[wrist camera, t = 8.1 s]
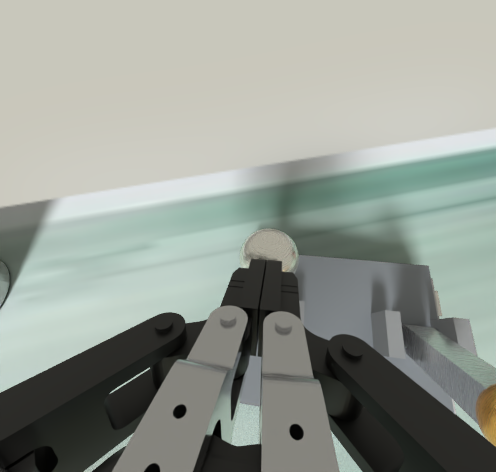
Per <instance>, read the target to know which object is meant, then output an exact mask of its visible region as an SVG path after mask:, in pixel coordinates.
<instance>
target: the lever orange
mask: <svg viewBox="0 0 496 472" xmlns="http://www.w3.org/2000/svg"><path fill="white" fill-rule="evenodd" d="M401 324H402V332H403V341H404V349H405V353H406V354H407V355H408V356H409V357H410V358H411V359H412V360H413V361H414V362H415V363H416V364H417V365H418V366H419V367H420V368H421V369H423V370H424V371H425V372H426V373H427V374H428V375H429V376H430V377H431V378H432V379H433V380H434V381H435V382H436V383H437V384H438V385H439V386H440V387H441V388H442V389H443V390H444V391H445V392H446V393H447V394H448V395H449V396H450V397H451V398H452V399H453V400H454V401H455V402H456V403H457V404H458V405H459V406H460V407H461V408H462V409H463V410H464V411H465V412H466V413H467V414H468V415H469V416H470V417H471V418H472V419H473V420H474V421H475V422H476V423H477V424H478V425H479V427H480V429H481V431H482V433H483V434H484V436H485V438H486V439H487V440H488V441H489V442H490V443H492V444H493V445H494V446H495V447H496V368H494V367H493V366H491V365H490V364H488V363H487V362H485V361H484V360H482V359H480V358H479V357H477V356H476V355H474V354H473V353H471V352H470V351H468V350H467V349H465V348H463V347H462V346H460V345H459V344H457V343H456V342H454V341H453V340H451V339H449V338H448V337H446V336H445V335H443V334H442V333H440V332H439V331H438V330H437V329H436V328H435V327H428V326H420V325H411V324H403V323H401Z"/></svg>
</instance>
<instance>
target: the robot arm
mask: <svg viewBox="0 0 496 472" xmlns="http://www.w3.org/2000/svg"><path fill="white" fill-rule="evenodd" d="M8 287H9V272H8V268H7V267H6V265H5V264H4V263H3V262H2V261H1V260H0V306H1V304H2V303H3V301H4V299H5V297H6V294H7V292H8ZM257 345H258V357H262V358H261V377H260V414H259V444H255V445H247V446H234V445H231V442H232V434H233V428H234V424H235V420H236V416H237V412H238V408H239V404H240V400H241V395H242V391H243V387H244V383H245V379H246V375H247V368H248V365H249V359H250V356H256V352H257ZM149 367H150V369H149V370H148V371H146V372H144V373H143V374H141V375H140V376H138V377H137V378H135V379H133V380H132V381H130V382H129V383H127V384H125V385H124V386H122V387H121V388H119V389H118V390H116V391H114V392H113V393H111V394H109V393H110V392H111V391H113V390H114V389H115V388H117V387H119V386H120V385H122V384H123V383H125V382H127V381H128V380H130V379H131V378H133V377H135V376H136V375H138V374H139V373H141V372H143V371H144V370H146V369H147V368H149ZM331 431H332V432H333V434H334V435H335V436H336V438H337V439H338V440H339V442H340V443H341V444H342V445H343V447H344V448H345V449H346V451H347V452H348V453H349V455H350V456H351V457H352V459H353V460H354V461H355V462H356V464H357V465H358V466H359V468H360V469H361V470H362V472H496V447H495V446H494V445H493V444H492V443H490V442H489V441H488V440H487V439H485V438H484V437H483V436H482V435H480V434H479V433H478V432H477V431H475V430H474V429H473V428H472V427H471V426H469V425H468V424H467V423H466V422H464V421H463V420H462V419H461V418H459V417H458V416H457V415H456V414H454V413H453V412H452V411H451V410H449V409H448V408H447V407H446V406H444V405H443V404H442V403H441V402H439V401H438V400H437V399H436V398H434V397H433V396H432V395H431V394H429V393H428V392H427V391H426V390H424V389H423V388H422V387H421V386H420V385H418V384H417V383H416V382H415V381H413V380H412V379H411V378H410V377H408V376H407V375H406V374H405V373H403V372H402V371H401V370H400V369H398V368H397V367H396V366H395V365H393V364H392V363H391V362H390V361H388V360H387V359H386V358H385V357H383V356H382V355H381V354H380V353H378V352H377V351H376V350H375V349H373V348H372V347H371V346H370V345H369V344H367V343H366V342H365V341H363V340H362V339H360V338H358V337H355V336H352V335H348V334H339V335H335V336H333V337H332V338H331V339H330V340H327V339H324V338H321V337H319V336H317V335H315V334H313V333H311V332H310V331H309V330H307V329H306V328H305V326H304V325H303V323H302V321H301V317H300V304H299V290H298V279H297V277H296V276H295V275H294V273H293V272H283V271H282V261H276V260H267V264H266V260H263V259H252V258H251V261H250V264H249V268H238V269H237V270H236V271H235V272H234V273H233V274H232V277H231V280H230V282H229V285H228V288H227V290H226V293H225V296H224V298H223V301H222V303H221V306H220V307H219V308H217V309H215V310H214V311H213V312H212V313H211V314H210V316H209V318H208V319H207V320H204V321H200V322H193V323H186V324H185V320H184V318H183V317H182V316H181V315H179V314H177V313H162V314H159V315H157V316H155V317H153V318H150V319H148V320H146V321H144V322H142V323H140V324H138V325H136V326H134V327H132V328H130V329H128V330H126V331H124V332H122V333H120V334H118V335H116V336H114V337H112V338H110V339H108V340H106V341H104V342H102V343H100V344H98V345H96V346H94V347H92V348H90V349H88V350H86V351H84V352H82V353H80V354H78V355H76V356H74V357H72V358H70V359H68V360H66V361H64V362H62V363H60V364H58V365H56V366H54V367H52V368H50V369H48V370H46V371H44V372H42V373H40V374H38V375H36V376H34V377H31V378H29V379H27V380H25V381H23V382H21V383H19V384H17V385H15V386H13V387H11V388H9V389H7V390H5V391H3V392H1V393H0V472H83V471H84V470H86V469H87V468H88V467H90V466H91V465H92V464H93V463H95V462H96V461H97V460H99V459H100V458H101V457H103V456H104V455H105V454H106V453H108V452H109V451H110V450H112V449H113V448H114V447H116V446H117V445H118V444H119V443H121V442H122V441H123V440H125V439H126V438H127V437H129V436H130V435H131V434H132V433H134V434H133V436H132V437H131V439H130V441H129V443H128V444H127V446H125V447H123V448H122V449H120V450H119V451H117V452H116V453H114V454H113V455H112V456H111V457H109V458H108V459H107V460H105V461H104V462H103V463H102V464H101V465H99V466H98V467H97V468H96V469H95V470H93V471H92V472H339V467H338V463H337V458H336V453H335V449H334V444H333V439H332V434H331Z"/></svg>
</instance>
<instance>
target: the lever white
mask: <svg viewBox="0 0 496 472" xmlns="http://www.w3.org/2000/svg"><path fill="white" fill-rule="evenodd" d="M251 258H252V259H263V260H266V264H267V260H276V261H282V271H283V272H293V273H294V274H295V272H296V270H297V267H298V263H299V254H298V249H297V247H296V244H295V243H294V241H293V240H292V239H291V238H290V237H289V236H288V235H287V234H286V233H284V232H282V231H280V230H277V229H271V228H267V229H261V230H258V231H256V232H254V233H253V234H251V235H250V236H249V237H248V238H247V239H246V240H245V242H244V243H243V245H242V248H241V251H240V264H241V268H249V264H250V261H251Z"/></svg>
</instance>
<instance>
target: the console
mask: <svg viewBox="0 0 496 472" xmlns="http://www.w3.org/2000/svg"><path fill="white" fill-rule="evenodd" d="M294 275H295V276H296V277H297V279H298V290H299V304H300V317H301V321H302V323H303V325H304V326H305V328H306V329H307V330H309V331H310V332H311V333H313V334H315V335H317V336H319V337H321V338H324V339H327V340H330V339H331V338H332V337H333V336H335V335H339V334H348V335H352V336H355V337H358V338H360V339H362V340H363V341H365V342H366V343H367V344H369V345H370V346H371V347H372V348H373V349H375V350H376V351H377V352H378V353H380V354H381V355H382V356H383V357H385V358H386V359H387V360H388V361H390V362H391V363H392V364H393V365H395V366H396V367H397V368H398V369H400V370H401V371H402V372H403V373H405V374H406V375H407V376H408V377H410V378H411V379H412V380H413V381H415V382H416V383H417V384H418V385H420V386H421V387H422V388H423V389H424V390H426V391H427V392H428V393H429V394H431V395H432V396H433V397H434V398H436V399H437V400H438V401H439V402H441V403H442V404H443V405H444V406H446V407H447V408H448V409H449V410H451V411H452V412H453V413H454V414H456V409H455V404H454V400H453V399H452V398H451V397H450V396H449V395H448V394H447V393H446V392H445V391H444V390H443V389H442V388H441V387H440V386H439V385H438V384H437V383H436V382H435V381H434V380H433V379H432V378H431V377H430V376H429V375H428V374H427V373H426V372H425V371H424V370H423V369H421V368H420V367H419V366H418V365H417V364H416V363H415V362H414V361H413V360H412V359H411V358H410V357H409V356H408V355H407V354H406V353H405V349H404V341H403V332H402V324H401V323H403V324H411V325H420V326H428V327H435V328H436V329H437V330H438V331H439V332H440V333H442V334H443V335H445V336H446V337H448V338H449V339H451V340H453V341H454V342H456V343H457V344H459V345H460V346H462V347H463V348H465V349H467V350H468V351H470V352H471V353H473V354H474V355H476V356H477V352H476V347H475V343H474V339H473V334H472V330H471V325H470V321H469V319H461V318H445V319H439V316H442V313H441V307H440V302H439V296H438V291H434V285H433V280H432V278H431V277H430V271H429V266H425V265H413V264H402V263H390V262H378V261H367V260H355V259H344V258H332V257H320V256H309V255H299V263H298V267H297V270H296V272H295V274H294ZM477 357H478V356H477ZM261 358H262V357H258V345H257V352H256V356H250V359H249V365H248V368H247V375H246V379H245V383H244V387H243V391H242V395H241V400H240V403H242V404H248V405H254V406H260V377H261Z"/></svg>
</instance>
